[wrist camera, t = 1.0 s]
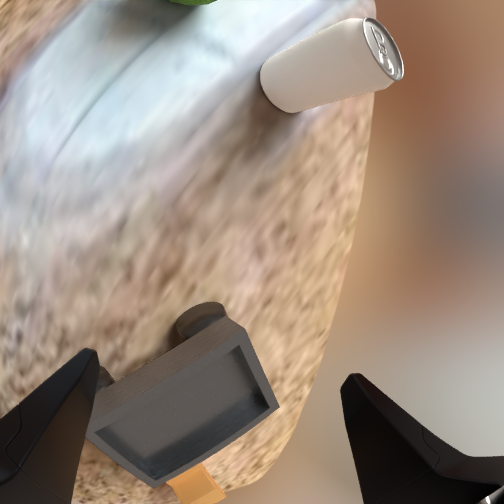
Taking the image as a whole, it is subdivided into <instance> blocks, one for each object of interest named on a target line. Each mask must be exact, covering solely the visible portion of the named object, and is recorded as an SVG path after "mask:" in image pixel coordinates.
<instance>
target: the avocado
mask: <svg viewBox="0 0 504 504" xmlns="http://www.w3.org/2000/svg"><path fill="white" fill-rule="evenodd" d="M169 1H171V2H175V3H179V4H184V5H189V6H191V5H204V4H210V3H212V2H214V1H217V0H169Z"/></svg>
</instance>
